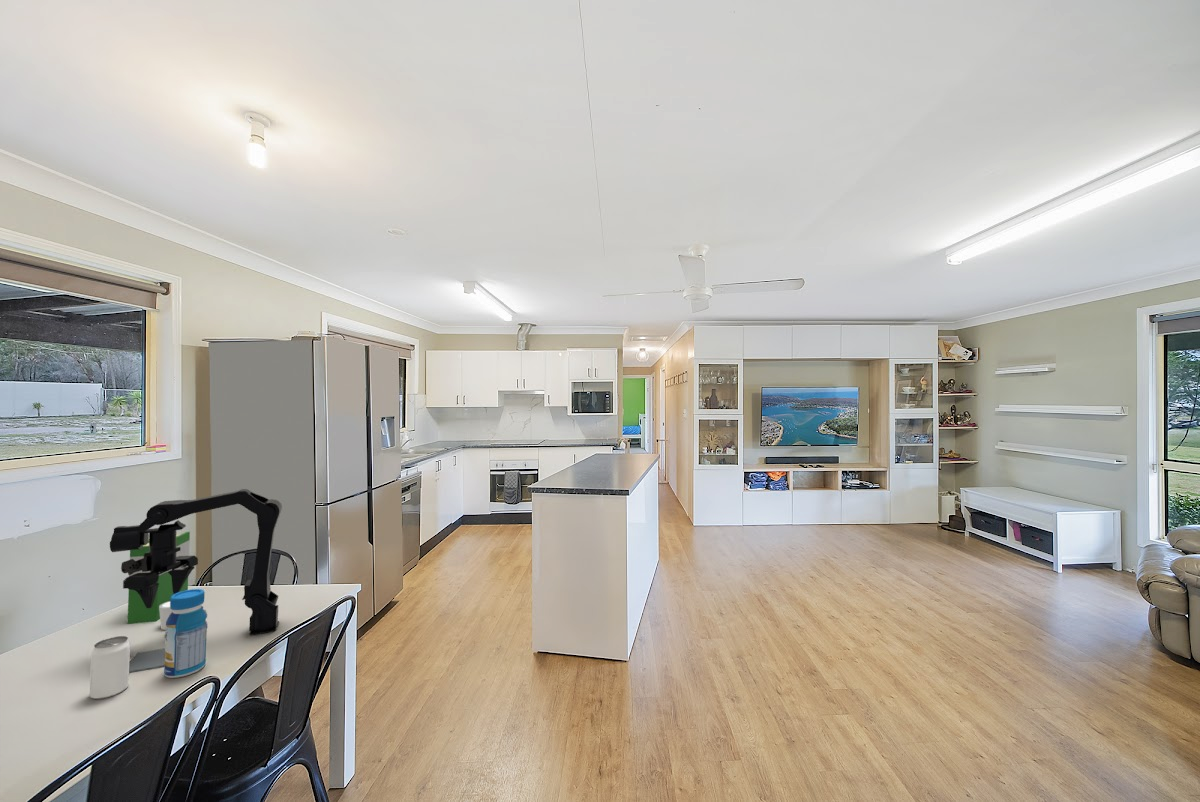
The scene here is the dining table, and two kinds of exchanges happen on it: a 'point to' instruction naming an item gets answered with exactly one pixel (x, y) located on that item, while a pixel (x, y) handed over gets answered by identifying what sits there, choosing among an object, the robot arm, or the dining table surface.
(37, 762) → the dining table surface
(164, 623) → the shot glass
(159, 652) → the slate mat
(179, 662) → the beverage bottle
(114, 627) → the dining table surface
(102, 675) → the can
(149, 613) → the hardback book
